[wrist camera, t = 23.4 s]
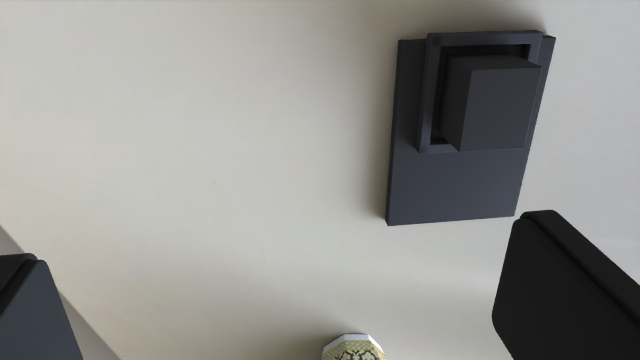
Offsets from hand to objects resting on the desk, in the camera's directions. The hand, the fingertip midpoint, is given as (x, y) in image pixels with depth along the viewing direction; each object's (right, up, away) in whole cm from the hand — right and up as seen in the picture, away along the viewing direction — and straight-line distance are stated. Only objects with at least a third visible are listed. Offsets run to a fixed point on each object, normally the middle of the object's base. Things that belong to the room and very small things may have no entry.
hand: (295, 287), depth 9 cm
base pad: (+12, +6, +28) cm, 31 cm away
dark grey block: (+12, +9, +26) cm, 30 cm away
